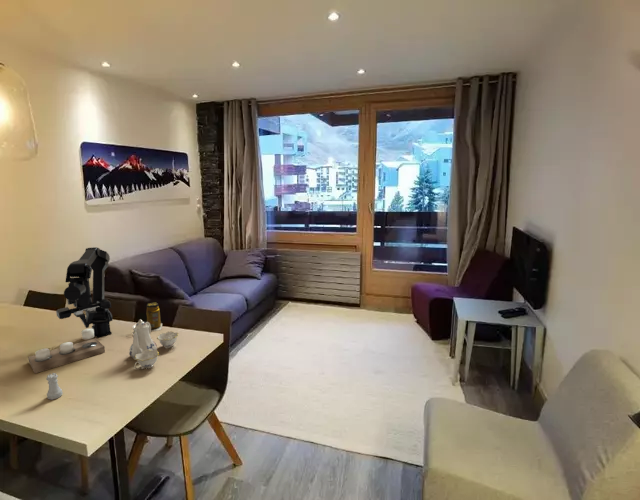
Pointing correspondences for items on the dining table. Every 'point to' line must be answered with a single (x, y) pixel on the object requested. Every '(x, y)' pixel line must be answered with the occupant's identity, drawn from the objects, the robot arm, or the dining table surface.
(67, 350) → the knob mid
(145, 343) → the chinaware
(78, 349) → the knob rail
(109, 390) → the dining table surface
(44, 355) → the knob
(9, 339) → the dining table surface
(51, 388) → the rook chess piece
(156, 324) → the condiment
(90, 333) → the knob
